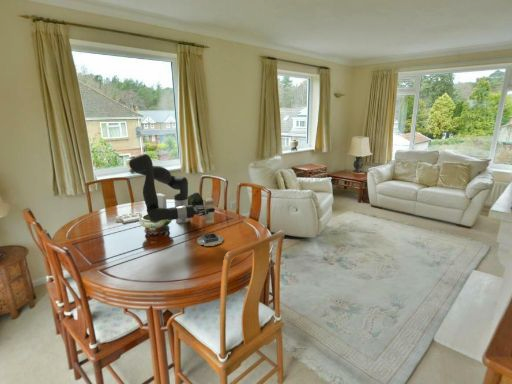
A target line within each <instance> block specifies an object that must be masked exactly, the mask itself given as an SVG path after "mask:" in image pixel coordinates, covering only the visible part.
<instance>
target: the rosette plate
mask: <svg viewBox="0 0 512 384" xmlns="http://www.w3.org/2000/svg"><path fill="white" fill-rule="evenodd" d="M222 241H223V242H224V237H223V236H221V235H219V234H216V233H215V232H213V233H212V232H211V233H205V234H202V235H200V236H199V237H197V239H196V243H197V244H198V245H199V244H200V245H199V246H201V245H204V246H203V247H205V246H211V245H216V244H219V243H221V242H222ZM223 242H222V243H223ZM222 243H221V244H222Z"/></svg>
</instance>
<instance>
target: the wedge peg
mask: <svg viewBox="0 0 512 384" xmlns="http://www.w3.org/2000/svg"><path fill="white" fill-rule="evenodd" d="M203 201H204V208H205V209H210V208H215V207H214V206H215V205H214V199H213V198H212V197H210V198H203ZM205 212H206V211H205ZM204 222H205V223H206V224H212V223H213V224H214V223H215V212H209V213H208V214H206V215H204Z"/></svg>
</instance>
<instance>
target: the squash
mask: <svg viewBox="0 0 512 384" xmlns="http://www.w3.org/2000/svg"><path fill="white" fill-rule="evenodd" d="M188 205H193V208H194V206H195V205H204V198H203V197H202V196H201V194H200V193H199V192H194V193H192V194H191V195H188Z"/></svg>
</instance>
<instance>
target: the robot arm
mask: <svg viewBox="0 0 512 384" xmlns="http://www.w3.org/2000/svg"><path fill="white" fill-rule="evenodd" d="M128 165H129V167H130V169H131V170H132V171H133V172H134V173H136V174H139V175H142V176H145V180H144V183H143V187H142V196H143V200H144V203H145V207H146V212H147V219H148V220H149V222H151V223H153V224H156V223H159V222H160V221H164V220H166V221H167V220H168V221H174V220H175V222H176V224H186V223H188V222H190V219H192V218H193V219H194V217H195V215H197V216H199V217H201V216H205V215H206V214H208V213H209V212H214V213H215V212H216V209H215V207H214V208H210V209H205V208H204V205H195V206H194V208H193V205H188V197H189V181H188V179H187V177H185V176H175V175H171V172H170V170H169V169H167V168H165V167H163V166H159V165H154V164H153V161H152V158H151V157H150V155H148V154H146V153H143V154H140V155H137V156H134V157H132V158H131V159H130V160H129V164H128ZM155 181H157V182H158V183H159V182H160V183H162V184H164V185H167V186H169V187H170V188H171V189H173V190H177V191H178V190H179V193H177V194H176V193H175V195H174V196H173V197H174V199H173V200H174V207H167V208H159V206H158V198H157V194H158V193H157V191H156V186H155ZM205 211H206V212H205Z"/></svg>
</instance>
